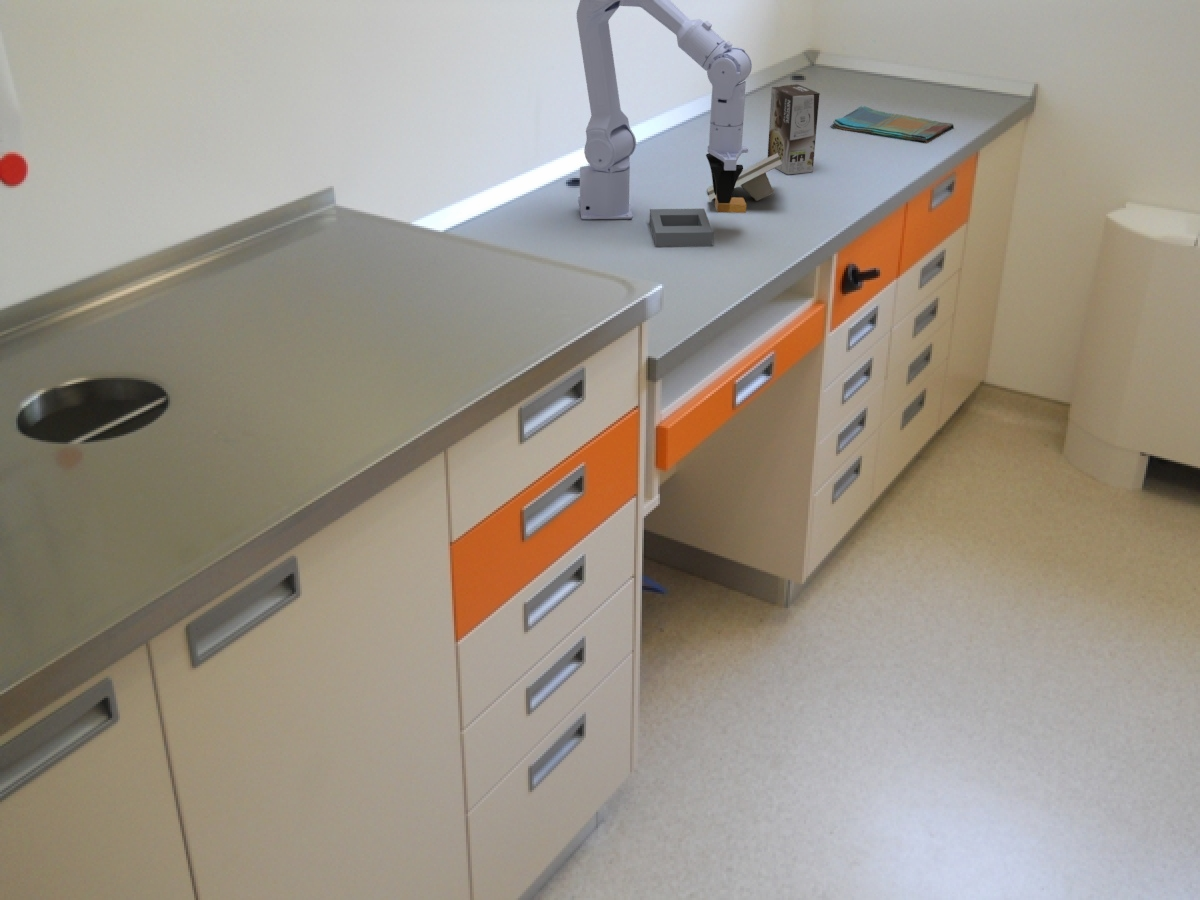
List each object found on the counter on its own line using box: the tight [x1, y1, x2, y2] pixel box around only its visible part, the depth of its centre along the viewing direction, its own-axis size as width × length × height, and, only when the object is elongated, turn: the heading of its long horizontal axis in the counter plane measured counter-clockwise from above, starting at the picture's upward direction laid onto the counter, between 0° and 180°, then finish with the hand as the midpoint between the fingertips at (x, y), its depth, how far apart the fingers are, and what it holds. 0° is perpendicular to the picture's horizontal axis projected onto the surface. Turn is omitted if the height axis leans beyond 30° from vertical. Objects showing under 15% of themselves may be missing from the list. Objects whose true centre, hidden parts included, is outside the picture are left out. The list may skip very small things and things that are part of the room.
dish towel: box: [829, 105, 955, 144], centre depth 293 cm, size 17×23×2 cm
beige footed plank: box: [706, 153, 782, 202], centre depth 245 cm, size 16×9×15 cm
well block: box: [648, 208, 714, 248], centre depth 228 cm, size 10×13×2 cm
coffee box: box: [767, 83, 821, 176], centre depth 261 cm, size 9×6×16 cm
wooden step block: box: [714, 194, 747, 214], centre depth 227 cm, size 5×4×6 cm
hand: (722, 198), depth 227 cm, fingers closed on wooden step block, 4 cm apart
